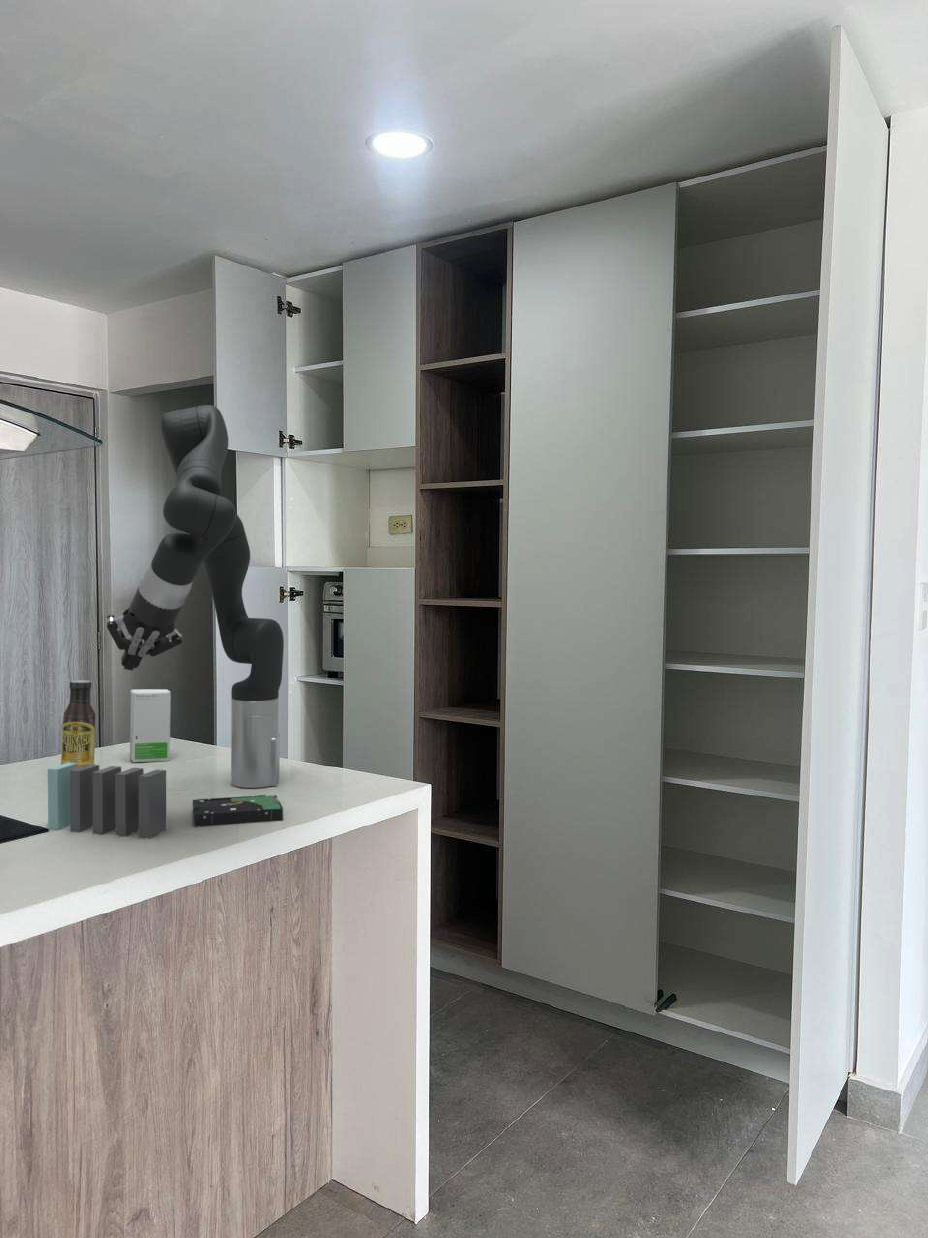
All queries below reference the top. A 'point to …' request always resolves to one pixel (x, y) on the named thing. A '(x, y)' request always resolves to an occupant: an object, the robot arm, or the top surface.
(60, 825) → the domino
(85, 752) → the sauce bottle
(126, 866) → the top surface
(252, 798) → the disk drive
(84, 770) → the domino
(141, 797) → the domino
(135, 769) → the domino
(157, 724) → the skincare box
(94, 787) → the domino
